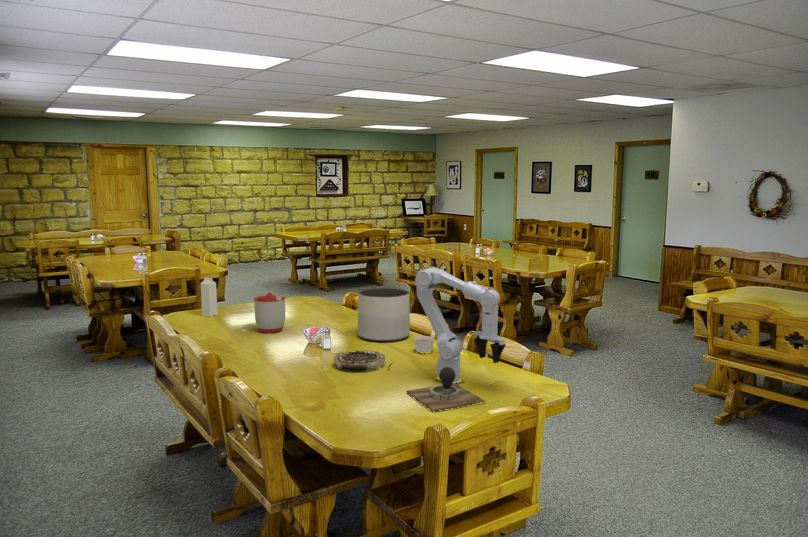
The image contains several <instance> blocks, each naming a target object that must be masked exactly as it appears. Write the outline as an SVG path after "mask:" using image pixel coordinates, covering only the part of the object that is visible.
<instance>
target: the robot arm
mask: <svg viewBox="0 0 808 537" xmlns="http://www.w3.org/2000/svg"><path fill="white" fill-rule="evenodd" d="M414 282H415V283H416V297H417V299H418V301H419V303H420V304H421V307H422V309H423V311H424V313H425V315H426V317H427V319H428V321H429V323H430V325H431V328H432V329H433V332H434V334H435V336H436V337H437V338H436V345H437V348H438V354H439V357H438V358H437V360H436V376H437V377H439V373H440V371H441V370H442V369H443V368H445V367H450V368H452V369H453V370H454V372H455V380H454V381H453V382H457V381H459V380H460V379H461V353H462V352H463V349H464V345H463V343H462V341H461V340H460V339H459V338H458V337H457V335H456V334H455V333H453V331H451V329H450V328H449V326H448V324H447V322H446V320H445V318H444V316H443V314H442V312H441V309H440V308H439V306H438V304H437V302H436V299H435V297H434V296H433V292H434V290H435V287H436V286H437V284H445V285H447V286H450V287H452V288H454V289H457V290H459V291H461V292H462V294H463V296H464V297H467V298H469V299H471V300H473V301H475V302H477V303H479V304H480V306H481V331H480V330H478V331H474V337H475V338H474V339H473V342H474V343H475V346H476V348H477V349H476V350H477V351H478V352H477V353H478V356H479V358H480V359H482V358H486V354H487V345H488V342H492V343H490V348H491V352H492V363H493V364H497V363H499V362H500V358H501V355H502V352H503V351H504V348H506V339H505V338H503V337H501V336H500V335H498V332H499V330H498V326H499V325H498V324H499V323H498V322H499V321H498V320H499V317H498V316H499V310H498V309H499V308H498V307H499V304H498V303H500V301H501V295H500V293H499V292H498V291H497V290H495V289H492V288H491V289H489V288H488V287H486V286H485V287H484V286H482V285H480V284H478V282H477V281H475V280H474V281H473V280H472V281H471V280H469V281H467V282H465V281H464V280H462V279H460V278H457V277H456V276H454V275H453V274H450V273H448V272H446V271H445V270H444V269H440V268H438V267H436V266H431V267H428V268H425V269H421V270H419V271H418V272H417V273H416V276H415V279H414Z"/></svg>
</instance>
